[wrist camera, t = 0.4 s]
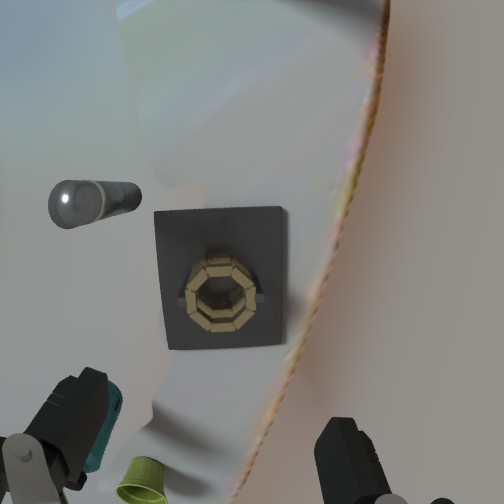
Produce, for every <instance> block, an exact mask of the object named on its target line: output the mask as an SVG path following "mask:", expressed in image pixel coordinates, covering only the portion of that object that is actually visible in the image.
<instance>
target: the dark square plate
mask: <svg viewBox="0 0 504 504" xmlns="http://www.w3.org/2000/svg"><path fill="white" fill-rule="evenodd" d="M154 224H155V238H156V251H157V261H158V271H159V281H160V290H161V298H162V307H163V314H164V321H165V328H166V335H167V342H168V348H169V350H183V349H216V348H235V347H251V346H265V345H276V344H281V321H282V212H281V206H261V207H230V208H207V209H187V210H170V211H155V212H154Z"/></svg>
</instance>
